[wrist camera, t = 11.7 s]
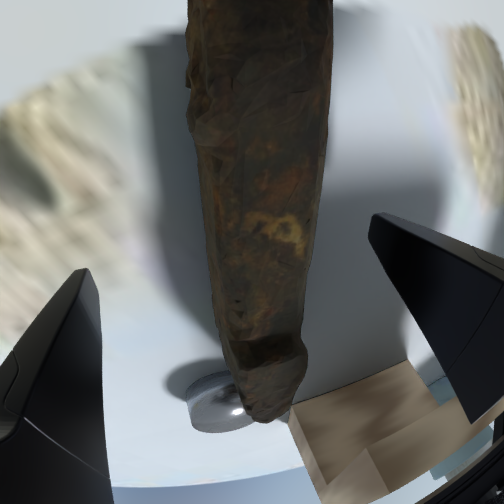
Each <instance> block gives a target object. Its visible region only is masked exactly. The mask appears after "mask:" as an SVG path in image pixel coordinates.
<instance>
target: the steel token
mask: <svg viewBox="0 0 504 504" xmlns="http://www.w3.org/2000/svg"><path fill="white" fill-rule="evenodd" d="M186 401H187V406H188V410H189V415H190V419H191V423H192V426H193V427H194V428H195V429H196V430H198V431H201V432H207V433H222V432H228V431H233V430H237V429H240V428H243V427H245V426H248V425H250V424H252V423H254V422H255V421H253V420H252V418H251V416H249V415H247V414H246V412H245V409H244V407H243V404H242V402H241V400H240V397H239V394H238V391H237V389H236V386H235V383H234V380H233V378H232V375H231V373H230V371H224V372H219V373H215V374H211V375H209V376H206V377H204V378H201V379H200V380H198V381H196V382H195V383H193V384H192V385H191V386H190V387H189V388H188V390H187V392H186Z"/></svg>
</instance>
